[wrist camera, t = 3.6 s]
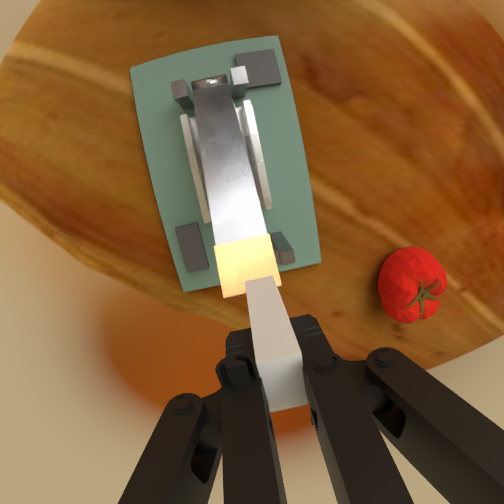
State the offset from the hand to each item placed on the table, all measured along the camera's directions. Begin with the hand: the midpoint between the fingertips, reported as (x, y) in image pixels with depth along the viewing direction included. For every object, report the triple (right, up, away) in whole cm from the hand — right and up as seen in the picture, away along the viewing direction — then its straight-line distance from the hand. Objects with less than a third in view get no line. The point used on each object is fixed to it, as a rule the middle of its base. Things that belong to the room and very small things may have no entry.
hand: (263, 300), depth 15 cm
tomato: (+19, 0, +20) cm, 27 cm away
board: (-3, +12, +13) cm, 18 cm away
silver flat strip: (-2, +9, +4) cm, 10 cm away
